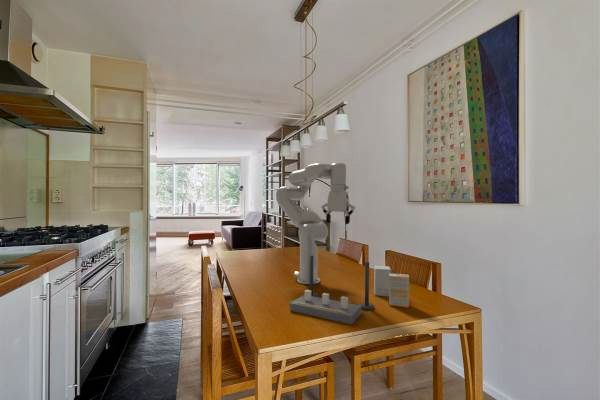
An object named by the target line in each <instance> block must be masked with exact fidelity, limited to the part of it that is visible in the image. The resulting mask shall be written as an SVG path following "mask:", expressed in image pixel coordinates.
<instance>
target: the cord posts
mask: <svg viewBox="0 0 600 400" xmlns="http://www.w3.org/2000/svg"><path fill="white" fill-rule="evenodd" d="M313 258H314V256H310V284H309V290H310V291H311V296H313V297H319V294H318V293H316V292H314V284H313ZM364 264H365V269H364V302H361V303H359V304H358V305H360V306H362V311H363V310H364V311H374V310H375V305H374V304H373V303H370V299H369V298H370V261H365V262H364Z"/></svg>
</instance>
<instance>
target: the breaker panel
mask: <svg viewBox="0 0 600 400" xmlns="http://www.w3.org/2000/svg"><path fill="white" fill-rule="evenodd" d="M304 296H305V294H303V295H301V296H299V297H298V298H296V299H295V300H292V301H291V302H290V303H289V310H290V311H291V312H296V313H300V314H304V315H308V316H313V317H318V318H321V319H326V320H329V321H334V322H339V323H344V324H348V325H352V324H353V323H354V322H355V321H356V320H358V318H359V317H360V316H361V315H362V314H363V313H362V312H363V309H362V306H360V305H359V304H354V303H349V302H348V308H347V309H344V308H341V301H340V300H339V301H338V300H334V299H329V304H328V305H325V304H322V297H319V296H318V297H313V296H311V301H305V300H304Z"/></svg>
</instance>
